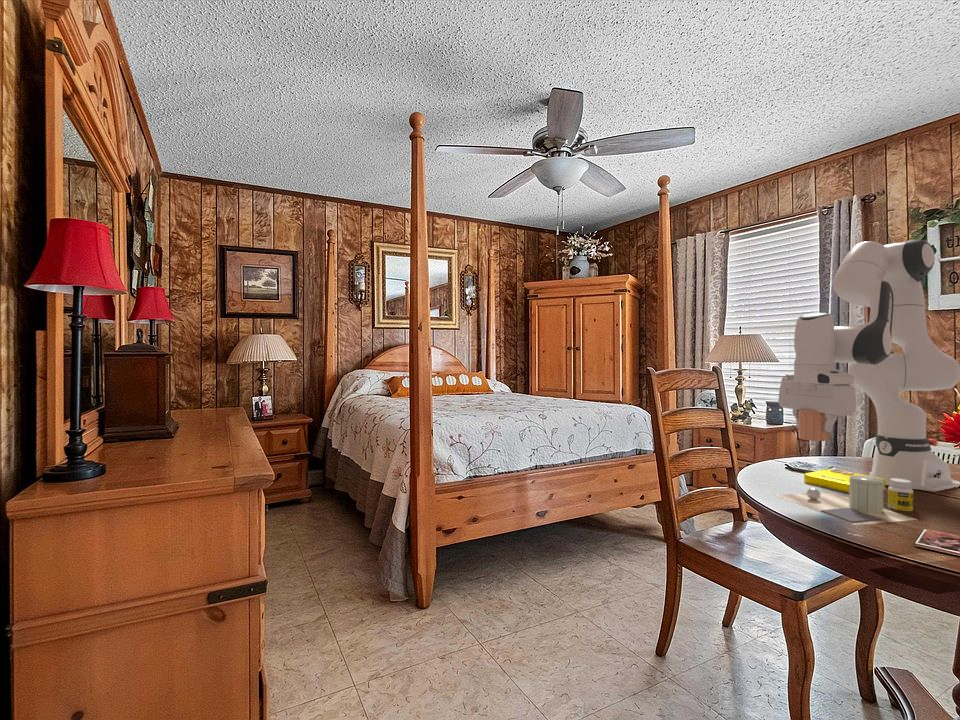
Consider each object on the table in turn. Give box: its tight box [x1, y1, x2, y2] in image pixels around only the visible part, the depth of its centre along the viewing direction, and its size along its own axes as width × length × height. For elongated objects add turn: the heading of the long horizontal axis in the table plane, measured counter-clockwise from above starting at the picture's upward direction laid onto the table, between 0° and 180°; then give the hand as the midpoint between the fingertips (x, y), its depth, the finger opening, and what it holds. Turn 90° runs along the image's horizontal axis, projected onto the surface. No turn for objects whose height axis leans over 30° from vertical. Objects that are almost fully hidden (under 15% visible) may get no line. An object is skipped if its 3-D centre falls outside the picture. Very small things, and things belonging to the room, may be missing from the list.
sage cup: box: [848, 475, 885, 514], centre depth 120 cm, size 6×6×8 cm
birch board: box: [775, 490, 919, 526], centre depth 122 cm, size 17×23×2 cm
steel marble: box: [806, 487, 821, 500], centre depth 128 cm, size 3×3×3 cm
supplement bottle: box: [887, 478, 914, 512], centre depth 121 cm, size 5×5×8 cm
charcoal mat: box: [820, 508, 881, 524], centre depth 116 cm, size 8×8×1 cm
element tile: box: [803, 468, 886, 494], centre depth 142 cm, size 15×15×5 cm
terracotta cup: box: [798, 409, 830, 442], centre depth 127 cm, size 6×6×8 cm
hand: (813, 428), depth 127 cm, fingers closed on terracotta cup, 6 cm apart
